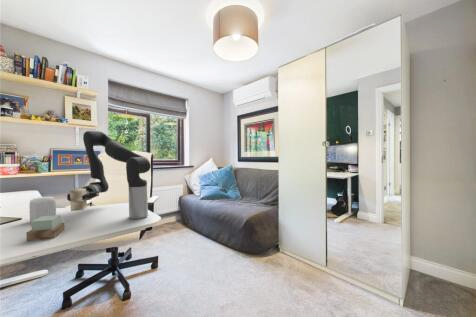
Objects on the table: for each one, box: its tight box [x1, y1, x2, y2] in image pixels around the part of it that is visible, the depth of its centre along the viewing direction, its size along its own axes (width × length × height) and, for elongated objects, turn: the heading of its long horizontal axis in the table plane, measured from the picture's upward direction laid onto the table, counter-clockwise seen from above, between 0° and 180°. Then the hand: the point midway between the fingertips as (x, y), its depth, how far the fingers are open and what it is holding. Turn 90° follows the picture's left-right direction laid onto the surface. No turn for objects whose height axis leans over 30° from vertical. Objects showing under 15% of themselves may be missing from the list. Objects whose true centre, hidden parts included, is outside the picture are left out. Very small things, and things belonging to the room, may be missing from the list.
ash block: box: [69, 187, 88, 212], centre depth 102 cm, size 5×5×10 cm
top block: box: [30, 214, 62, 231], centre depth 88 cm, size 7×7×4 cm
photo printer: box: [28, 196, 57, 223], centre depth 108 cm, size 10×4×12 cm, turn 123°
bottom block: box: [26, 222, 65, 242], centre depth 88 cm, size 9×9×4 cm
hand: (76, 198), depth 100 cm, fingers closed on ash block, 5 cm apart
